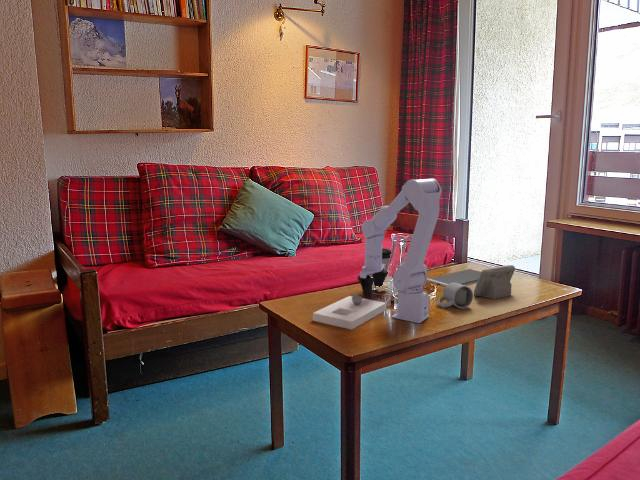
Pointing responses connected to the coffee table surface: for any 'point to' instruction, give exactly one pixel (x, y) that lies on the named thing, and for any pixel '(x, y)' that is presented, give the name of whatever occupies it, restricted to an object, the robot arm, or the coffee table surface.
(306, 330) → the coffee table surface
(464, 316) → the coffee table surface
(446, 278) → the grey flat slab
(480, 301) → the coffee table surface
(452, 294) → the ceramic mug
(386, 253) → the coffee cup
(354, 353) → the coffee table surface
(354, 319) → the hole plate
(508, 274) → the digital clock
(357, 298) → the steel ball
